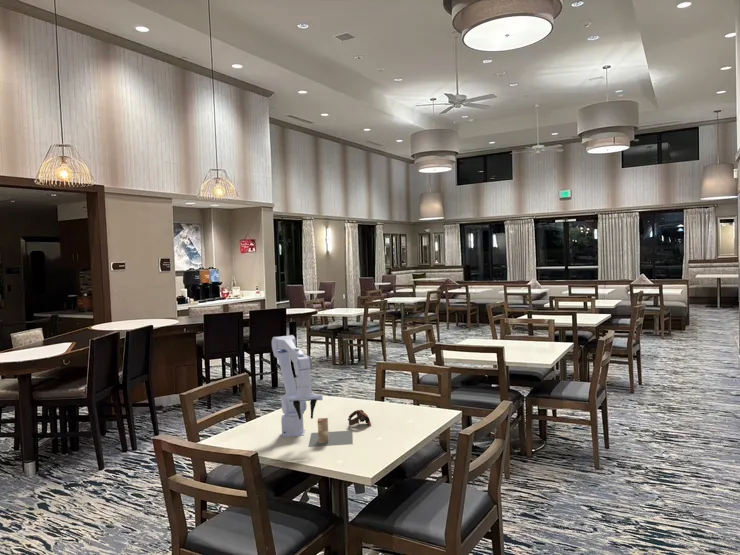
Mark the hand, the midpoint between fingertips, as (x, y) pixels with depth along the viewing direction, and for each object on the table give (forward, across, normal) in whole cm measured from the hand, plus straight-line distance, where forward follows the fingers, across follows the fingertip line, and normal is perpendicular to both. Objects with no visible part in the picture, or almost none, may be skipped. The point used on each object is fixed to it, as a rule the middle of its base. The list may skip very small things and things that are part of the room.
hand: (306, 418), depth 222 cm
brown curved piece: (+10, +22, +20) cm, 32 cm away
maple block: (+10, +7, +1) cm, 12 cm away
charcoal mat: (+10, +10, +4) cm, 15 cm away
